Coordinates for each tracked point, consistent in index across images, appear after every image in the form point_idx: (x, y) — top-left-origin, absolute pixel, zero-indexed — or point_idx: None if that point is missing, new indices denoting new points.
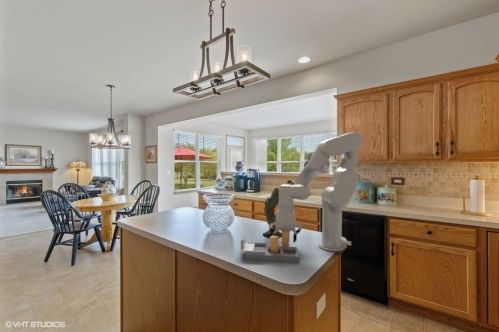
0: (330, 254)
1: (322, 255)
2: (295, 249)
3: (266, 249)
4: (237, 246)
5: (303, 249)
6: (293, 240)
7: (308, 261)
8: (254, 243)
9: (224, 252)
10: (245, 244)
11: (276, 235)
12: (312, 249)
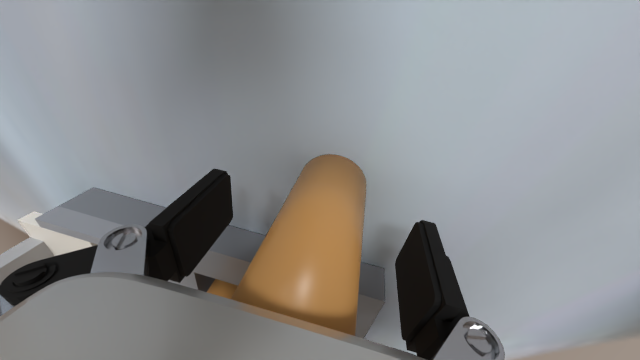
0: (613, 340)
1: (533, 333)
2: (359, 322)
3: (186, 282)
4: (2, 122)
5: (469, 244)
6: (409, 245)
7: (394, 346)
8: (85, 237)
9: (12, 197)
10: (47, 241)
11: (192, 267)
12: (555, 258)
